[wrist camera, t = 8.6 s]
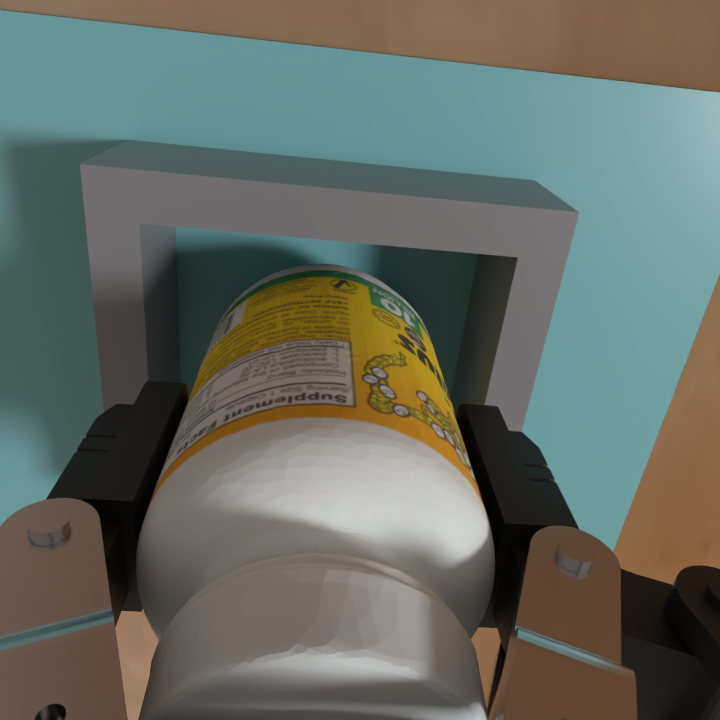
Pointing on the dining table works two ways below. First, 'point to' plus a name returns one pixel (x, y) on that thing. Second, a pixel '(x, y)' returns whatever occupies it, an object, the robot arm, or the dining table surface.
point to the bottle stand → (348, 230)
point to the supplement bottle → (316, 519)
